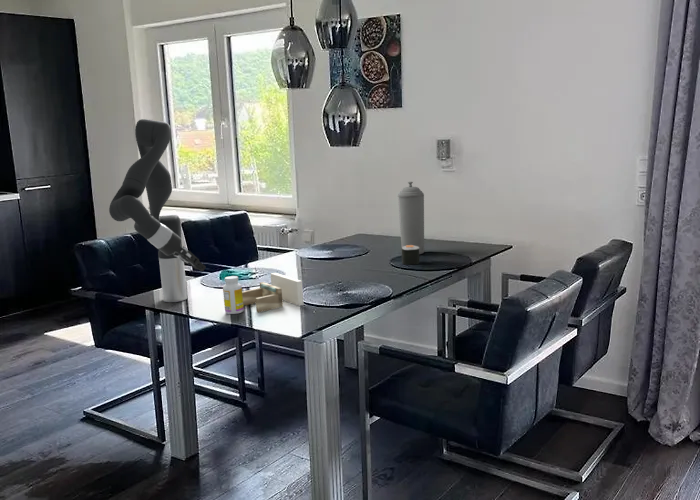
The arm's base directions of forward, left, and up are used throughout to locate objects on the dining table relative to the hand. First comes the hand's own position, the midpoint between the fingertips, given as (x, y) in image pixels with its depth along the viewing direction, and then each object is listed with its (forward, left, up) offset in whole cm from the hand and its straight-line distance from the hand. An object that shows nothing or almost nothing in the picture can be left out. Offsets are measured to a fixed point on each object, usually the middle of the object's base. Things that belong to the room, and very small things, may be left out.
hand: (201, 268), depth 234 cm
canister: (-31, +122, -18) cm, 127 cm away
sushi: (-15, +107, -18) cm, 110 cm away
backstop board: (0, +33, -18) cm, 38 cm away
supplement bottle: (0, +11, -18) cm, 21 cm away
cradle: (0, +22, -18) cm, 29 cm away
